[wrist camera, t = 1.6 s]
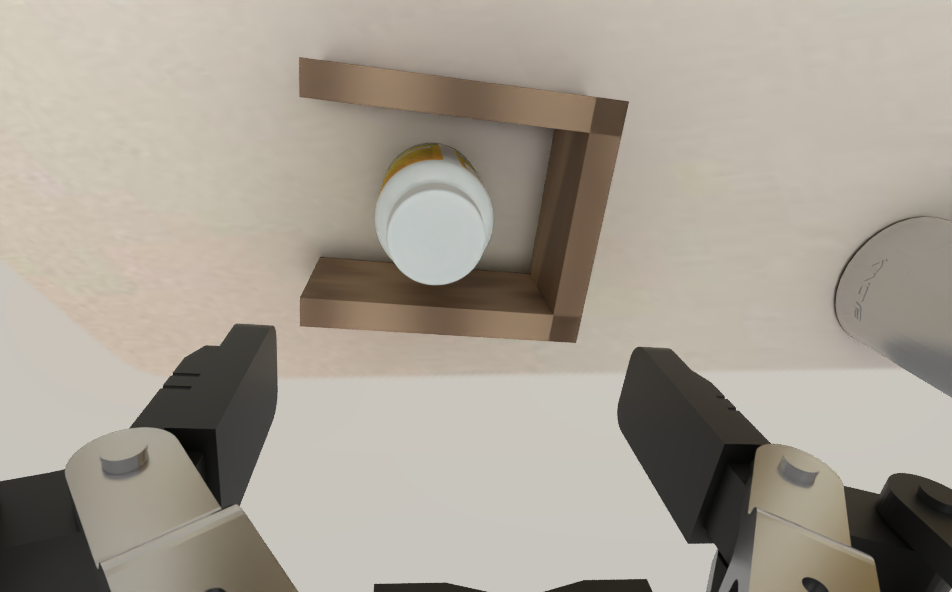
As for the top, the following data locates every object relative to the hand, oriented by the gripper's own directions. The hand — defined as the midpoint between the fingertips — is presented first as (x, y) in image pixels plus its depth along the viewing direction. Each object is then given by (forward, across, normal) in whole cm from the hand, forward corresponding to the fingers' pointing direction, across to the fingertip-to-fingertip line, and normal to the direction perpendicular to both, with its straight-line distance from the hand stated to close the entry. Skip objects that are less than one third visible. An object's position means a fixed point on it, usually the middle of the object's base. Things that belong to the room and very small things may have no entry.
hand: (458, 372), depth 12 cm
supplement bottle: (+20, 0, 0) cm, 20 cm away
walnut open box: (+20, 0, 0) cm, 20 cm away
